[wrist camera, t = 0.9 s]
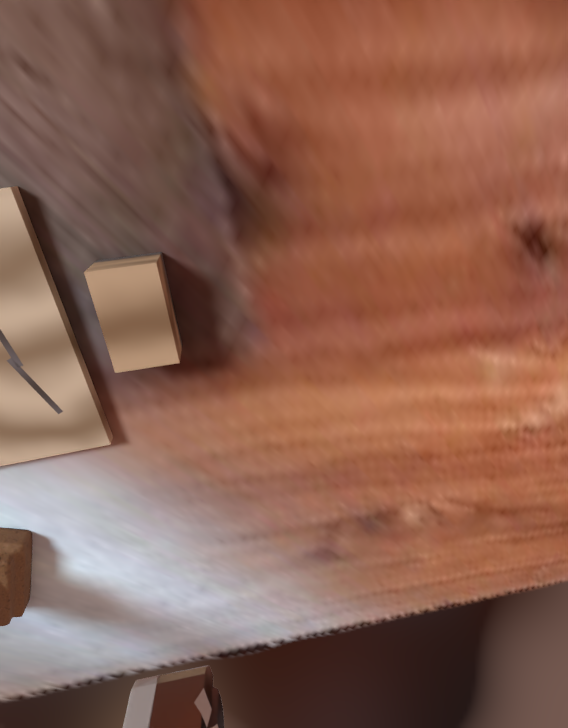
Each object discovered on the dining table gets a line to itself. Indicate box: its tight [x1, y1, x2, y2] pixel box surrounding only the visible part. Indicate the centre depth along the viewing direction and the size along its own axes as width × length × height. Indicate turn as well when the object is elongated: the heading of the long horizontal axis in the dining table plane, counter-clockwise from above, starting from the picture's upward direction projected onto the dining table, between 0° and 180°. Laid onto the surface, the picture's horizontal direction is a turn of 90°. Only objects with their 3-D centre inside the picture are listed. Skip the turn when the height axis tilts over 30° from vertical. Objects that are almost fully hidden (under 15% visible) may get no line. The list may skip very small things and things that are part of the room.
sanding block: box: [84, 252, 182, 373], centre depth 34 cm, size 8×5×4 cm, turn 6°
